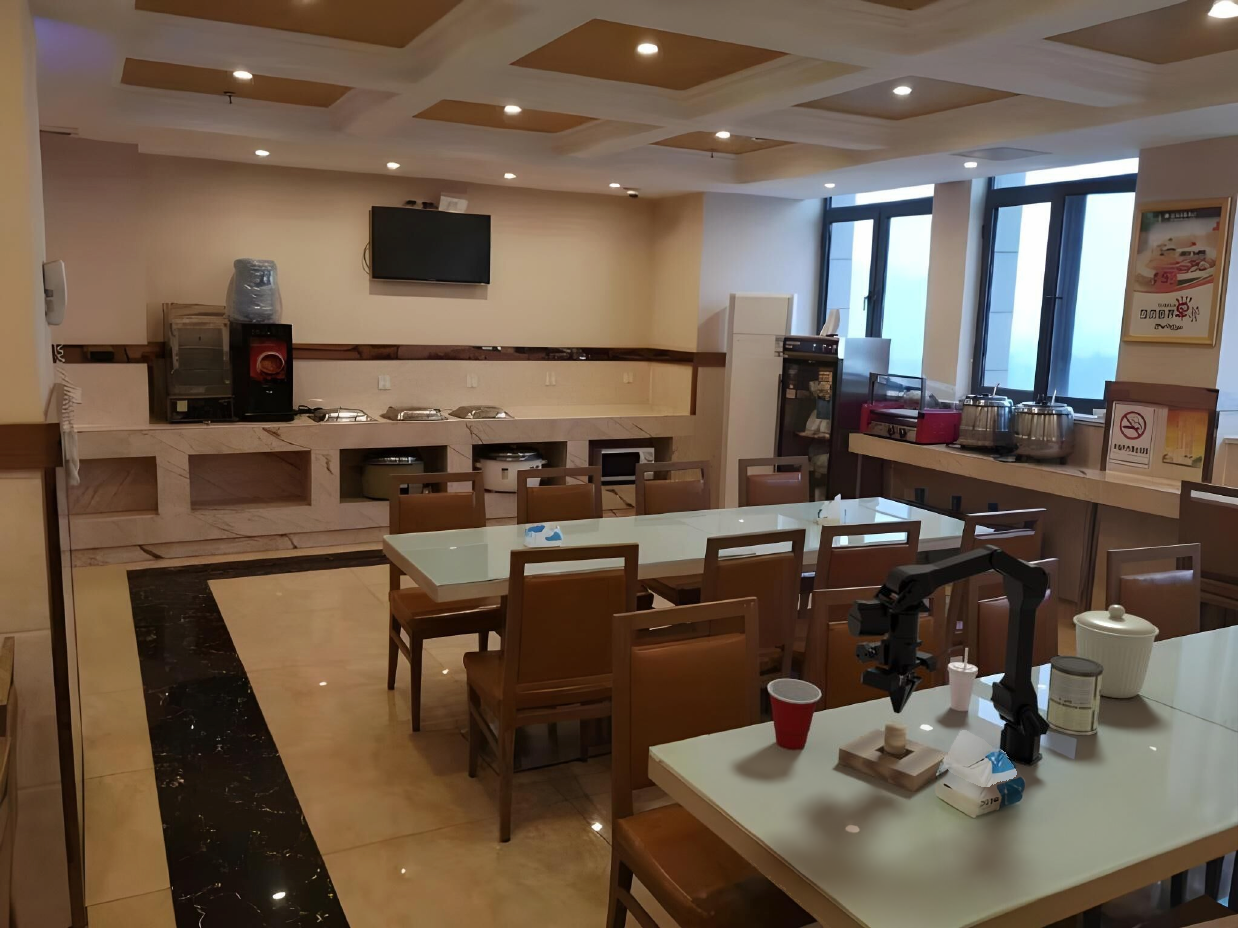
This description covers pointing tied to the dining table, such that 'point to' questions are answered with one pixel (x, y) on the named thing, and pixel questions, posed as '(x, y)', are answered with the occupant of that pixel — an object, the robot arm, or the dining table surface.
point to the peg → (895, 740)
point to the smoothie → (961, 683)
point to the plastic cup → (792, 711)
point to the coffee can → (1074, 695)
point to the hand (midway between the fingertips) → (897, 712)
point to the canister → (1116, 648)
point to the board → (892, 760)
